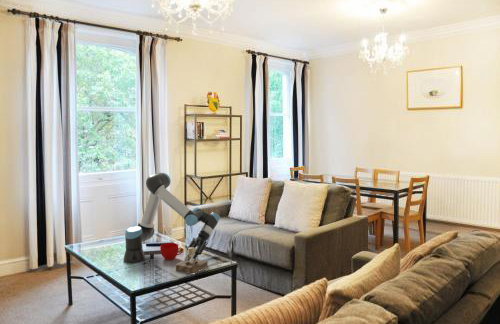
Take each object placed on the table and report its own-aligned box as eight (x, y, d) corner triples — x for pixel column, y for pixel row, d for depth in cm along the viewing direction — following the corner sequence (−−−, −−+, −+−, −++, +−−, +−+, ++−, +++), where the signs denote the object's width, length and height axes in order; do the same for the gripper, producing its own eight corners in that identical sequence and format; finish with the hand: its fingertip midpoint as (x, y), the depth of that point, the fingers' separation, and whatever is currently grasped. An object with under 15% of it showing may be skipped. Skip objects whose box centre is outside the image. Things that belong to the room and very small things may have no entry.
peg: (186, 266, 287) (186, 248, 286) (190, 263, 292) (190, 246, 290) (193, 267, 285) (192, 249, 284) (197, 264, 289) (196, 247, 288)
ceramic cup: (179, 262, 300) (179, 249, 299) (157, 261, 303) (157, 247, 302) (186, 256, 312) (186, 243, 311) (164, 255, 316) (164, 242, 315)
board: (175, 270, 285) (175, 264, 284) (189, 263, 299) (189, 257, 298) (194, 274, 278) (194, 268, 278) (207, 266, 292) (207, 260, 292)
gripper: (217, 238, 292) (199, 267, 281) (199, 233, 304) (182, 261, 293) (211, 232, 287) (193, 261, 277) (193, 227, 299) (176, 255, 289)
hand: (187, 261), depth 285 cm, fingers closed on peg, 5 cm apart
